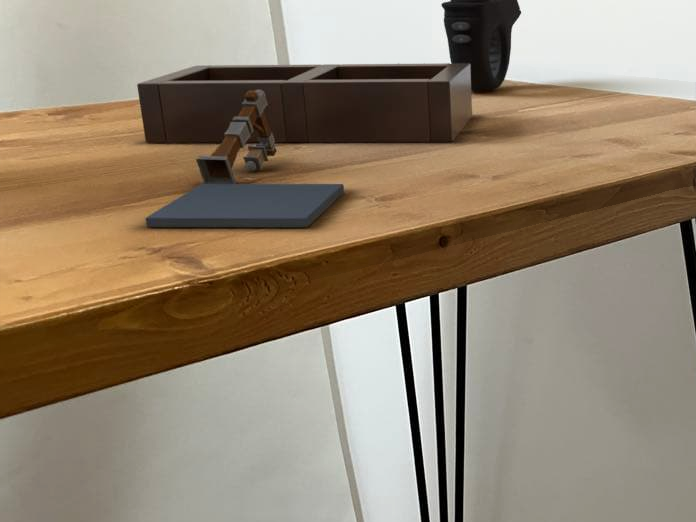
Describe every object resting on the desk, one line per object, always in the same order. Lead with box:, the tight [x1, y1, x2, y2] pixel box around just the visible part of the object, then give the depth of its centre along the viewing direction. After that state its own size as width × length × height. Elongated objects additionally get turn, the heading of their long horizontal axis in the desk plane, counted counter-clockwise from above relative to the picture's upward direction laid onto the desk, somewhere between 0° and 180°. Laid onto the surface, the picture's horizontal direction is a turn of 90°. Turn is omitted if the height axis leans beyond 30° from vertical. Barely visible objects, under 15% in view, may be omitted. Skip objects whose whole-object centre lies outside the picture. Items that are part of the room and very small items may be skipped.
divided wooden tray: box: [136, 62, 473, 144], centre depth 81 cm, size 22×12×4 cm, turn 86°
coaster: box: [145, 183, 345, 229], centre depth 58 cm, size 8×8×1 cm
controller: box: [440, 0, 522, 93], centre depth 99 cm, size 4×12×10 cm, turn 165°
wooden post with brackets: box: [195, 90, 278, 184], centre depth 66 cm, size 2×8×4 cm, turn 169°
